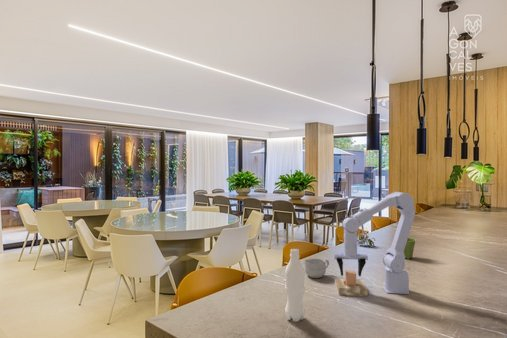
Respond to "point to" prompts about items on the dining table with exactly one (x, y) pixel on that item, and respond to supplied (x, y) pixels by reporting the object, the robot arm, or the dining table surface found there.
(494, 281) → the dining table surface
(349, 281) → the terracotta peg
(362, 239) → the passion flower
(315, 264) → the teacup
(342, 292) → the birch socket block
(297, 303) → the water bottle
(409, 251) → the plant pot
